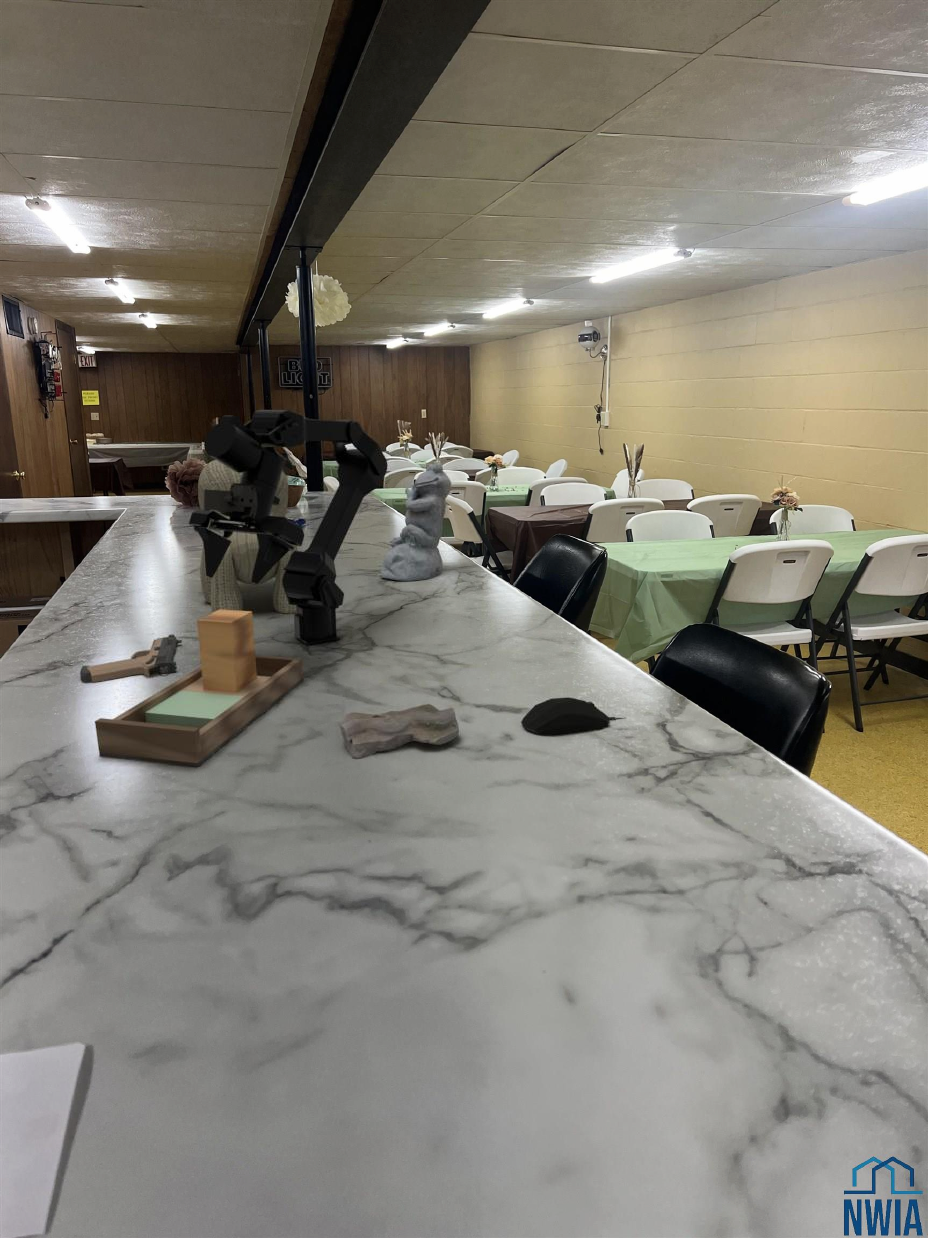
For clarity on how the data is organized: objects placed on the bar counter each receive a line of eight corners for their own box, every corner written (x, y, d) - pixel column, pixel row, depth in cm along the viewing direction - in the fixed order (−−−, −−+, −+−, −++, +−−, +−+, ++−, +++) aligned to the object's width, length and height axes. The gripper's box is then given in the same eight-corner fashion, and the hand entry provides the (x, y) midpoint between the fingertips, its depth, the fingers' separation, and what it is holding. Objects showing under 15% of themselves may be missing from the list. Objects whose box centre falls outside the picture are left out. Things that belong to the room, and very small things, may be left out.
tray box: (225, 673, 121) (223, 646, 119) (303, 680, 118) (301, 652, 117) (99, 756, 92) (94, 721, 91) (197, 767, 90) (194, 731, 89)
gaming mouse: (637, 729, 102) (639, 701, 101) (531, 741, 98) (532, 712, 97) (616, 711, 108) (617, 684, 106) (515, 722, 104) (515, 694, 103)
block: (225, 675, 113) (219, 609, 110) (256, 678, 112) (252, 611, 109) (203, 689, 107) (197, 620, 104) (236, 692, 106) (230, 622, 103)
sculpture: (379, 562, 200) (393, 448, 188) (438, 570, 203) (456, 458, 190) (378, 590, 184) (393, 467, 172) (442, 598, 186) (462, 477, 174)
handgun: (78, 688, 116) (176, 677, 120) (75, 672, 116) (174, 662, 119) (98, 652, 134) (183, 643, 138) (96, 638, 133) (181, 630, 137)
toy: (292, 582, 183) (284, 452, 174) (314, 614, 155) (307, 462, 147) (199, 589, 176) (187, 454, 167) (206, 623, 148) (192, 464, 140)
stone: (344, 763, 92) (343, 732, 90) (337, 731, 101) (335, 702, 99) (464, 751, 95) (464, 720, 94) (447, 721, 104) (447, 693, 103)
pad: (181, 704, 107) (179, 690, 107) (254, 711, 105) (253, 697, 104) (146, 726, 100) (145, 712, 99) (224, 734, 97) (223, 720, 97)
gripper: (178, 460, 118) (147, 557, 115) (272, 465, 109) (242, 569, 107) (227, 489, 128) (200, 579, 125) (317, 496, 119) (291, 592, 117)
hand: (231, 580), depth 118 cm, fingers open, 9 cm apart
